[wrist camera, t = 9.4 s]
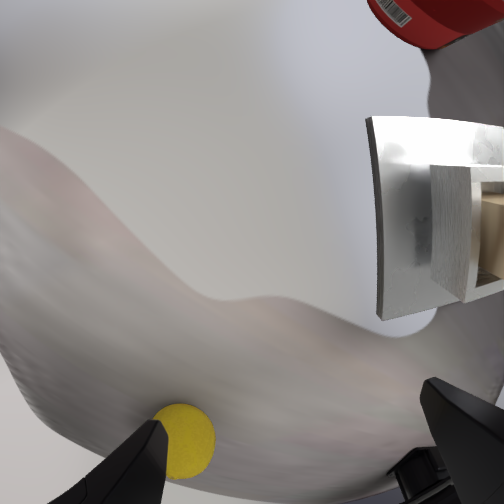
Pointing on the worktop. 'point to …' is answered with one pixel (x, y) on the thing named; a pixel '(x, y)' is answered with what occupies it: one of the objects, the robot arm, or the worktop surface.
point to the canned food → (436, 19)
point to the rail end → (492, 233)
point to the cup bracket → (431, 210)
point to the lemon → (187, 440)
